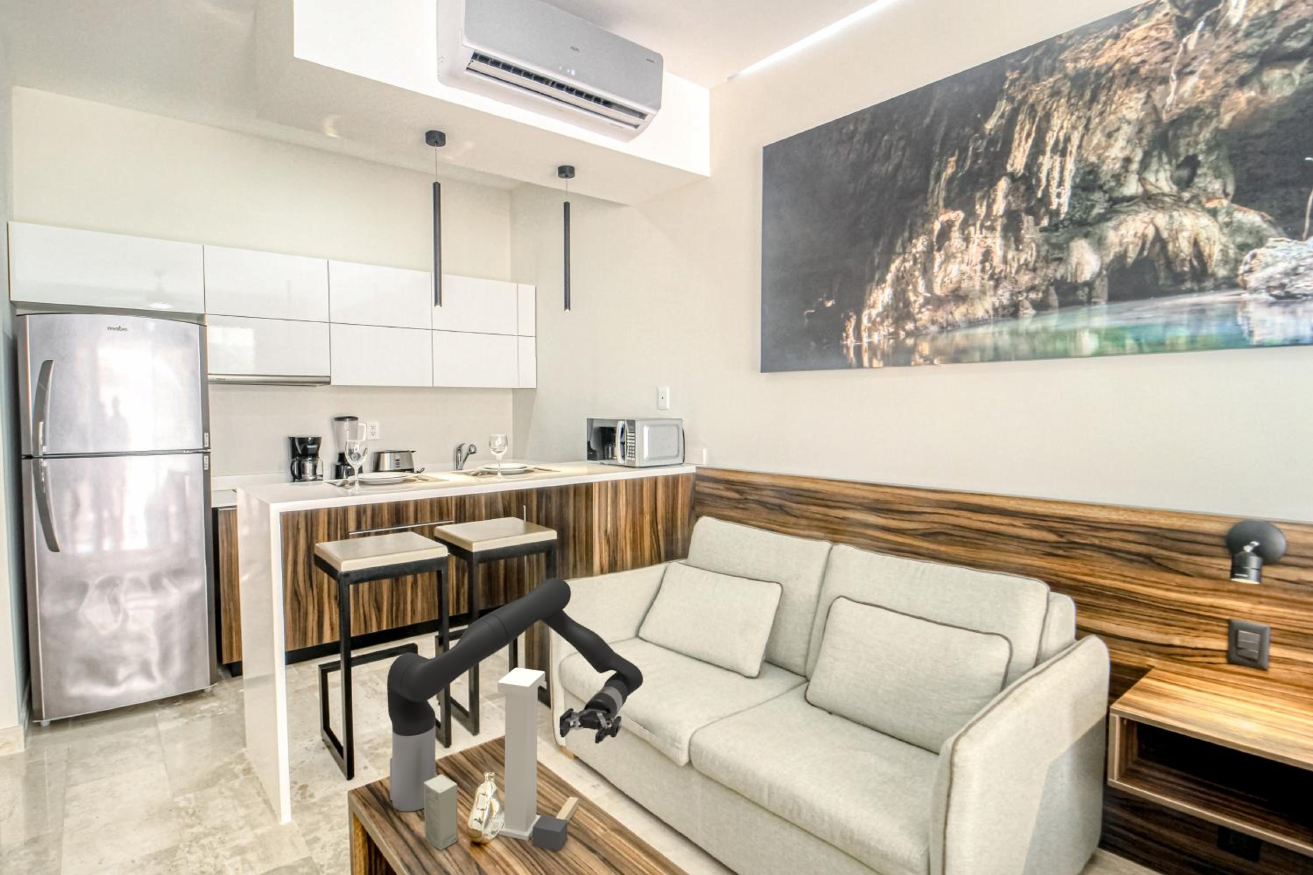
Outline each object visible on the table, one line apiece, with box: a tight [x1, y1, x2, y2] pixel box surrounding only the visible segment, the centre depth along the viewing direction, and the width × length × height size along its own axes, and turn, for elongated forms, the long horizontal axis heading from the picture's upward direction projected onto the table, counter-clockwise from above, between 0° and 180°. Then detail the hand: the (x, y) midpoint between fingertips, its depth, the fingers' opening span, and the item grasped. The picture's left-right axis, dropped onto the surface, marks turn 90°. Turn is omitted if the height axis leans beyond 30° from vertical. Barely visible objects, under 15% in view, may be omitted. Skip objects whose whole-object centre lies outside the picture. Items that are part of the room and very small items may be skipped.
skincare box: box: [423, 773, 459, 851], centre depth 138 cm, size 6×4×12 cm
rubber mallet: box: [532, 796, 579, 852], centre depth 143 cm, size 15×6×4 cm, turn 165°
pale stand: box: [497, 667, 546, 842], centre depth 141 cm, size 8×7×33 cm
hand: (579, 736), depth 152 cm, fingers open, 8 cm apart
